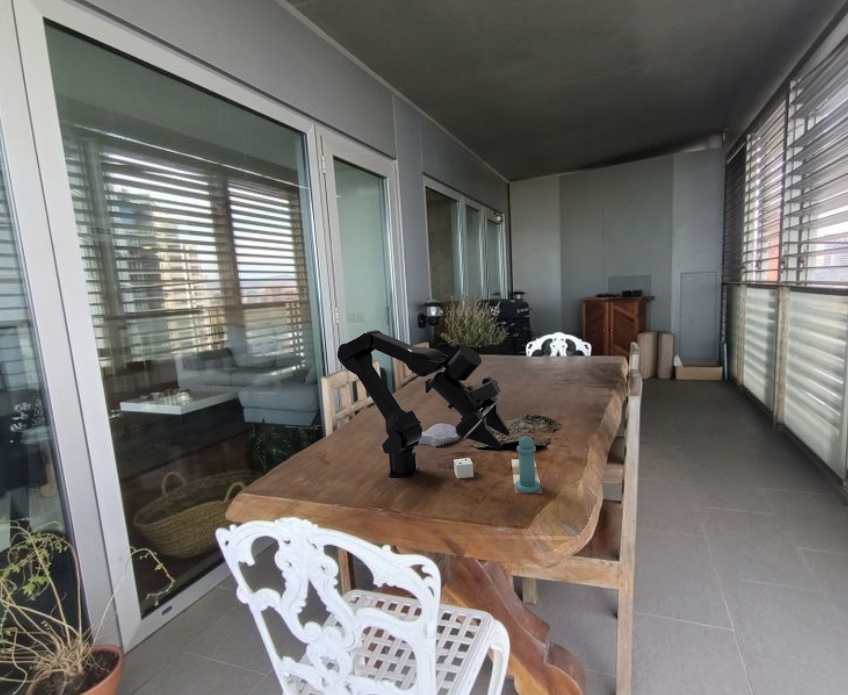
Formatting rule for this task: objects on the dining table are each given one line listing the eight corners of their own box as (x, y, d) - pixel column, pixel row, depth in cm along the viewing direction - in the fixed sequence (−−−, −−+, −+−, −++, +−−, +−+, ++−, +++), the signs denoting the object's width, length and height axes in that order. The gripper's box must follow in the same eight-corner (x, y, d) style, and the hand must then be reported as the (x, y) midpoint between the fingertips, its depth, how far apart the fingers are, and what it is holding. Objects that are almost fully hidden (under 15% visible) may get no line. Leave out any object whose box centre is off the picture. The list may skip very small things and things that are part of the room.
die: (457, 481, 114) (456, 465, 113) (454, 474, 118) (453, 459, 117) (473, 479, 114) (472, 463, 114) (470, 473, 118) (469, 457, 118)
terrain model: (490, 419, 165) (490, 406, 164) (564, 428, 153) (564, 413, 152) (454, 448, 138) (454, 432, 137) (540, 461, 126) (540, 443, 125)
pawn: (516, 493, 104) (514, 440, 102) (515, 483, 109) (513, 433, 107) (540, 493, 103) (538, 440, 101) (538, 483, 108) (536, 432, 106)
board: (514, 495, 104) (514, 492, 104) (511, 461, 124) (511, 459, 123) (542, 495, 103) (542, 492, 103) (534, 461, 123) (534, 459, 123)
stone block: (464, 443, 146) (438, 432, 152) (465, 429, 145) (440, 419, 151) (441, 456, 138) (415, 444, 143) (442, 441, 136) (416, 430, 142)
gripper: (466, 376, 97) (522, 429, 95) (486, 361, 115) (534, 406, 112) (433, 412, 101) (486, 464, 99) (458, 392, 118) (503, 436, 116)
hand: (504, 440), depth 106 cm, fingers open, 9 cm apart
